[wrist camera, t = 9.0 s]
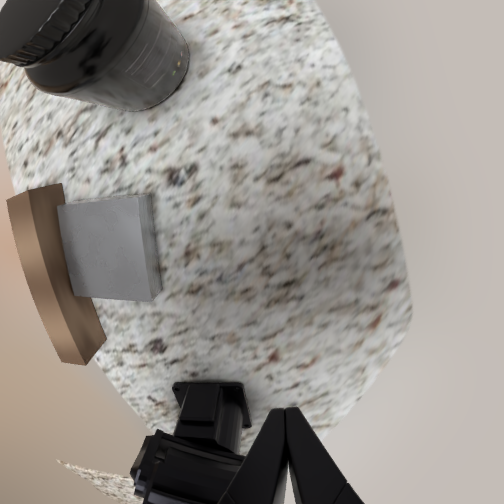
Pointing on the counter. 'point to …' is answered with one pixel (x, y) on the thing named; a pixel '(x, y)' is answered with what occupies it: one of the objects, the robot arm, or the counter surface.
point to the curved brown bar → (53, 275)
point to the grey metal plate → (111, 247)
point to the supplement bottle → (95, 49)
